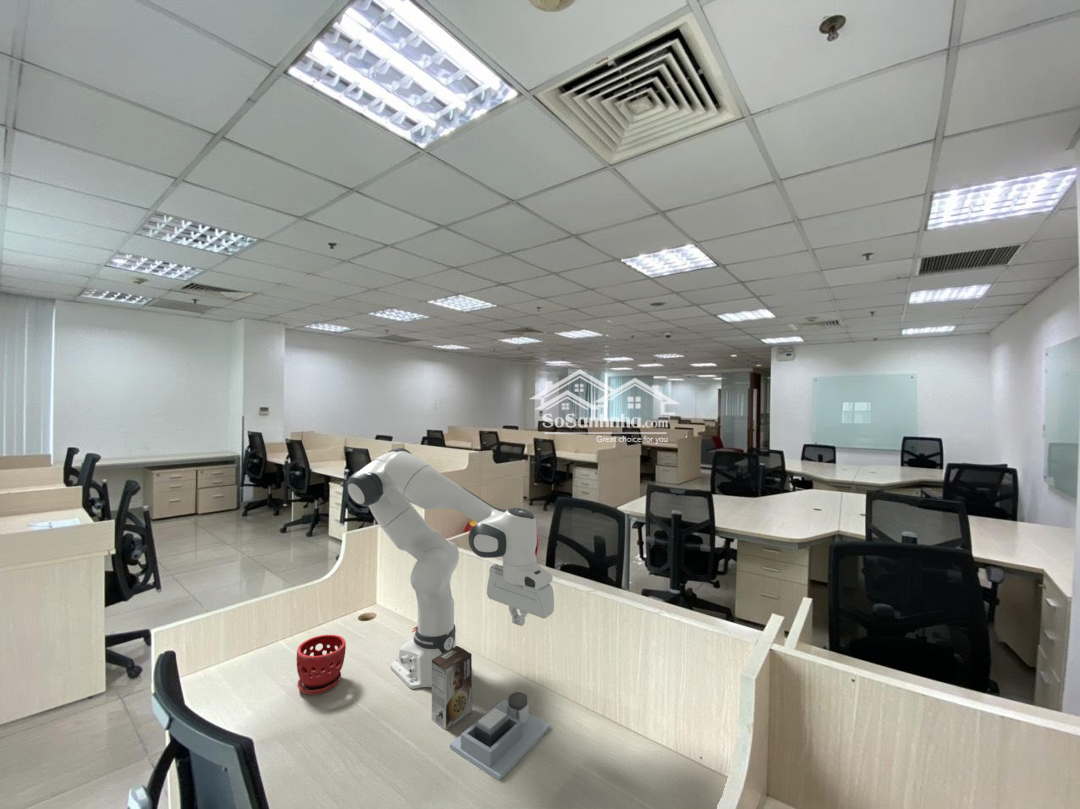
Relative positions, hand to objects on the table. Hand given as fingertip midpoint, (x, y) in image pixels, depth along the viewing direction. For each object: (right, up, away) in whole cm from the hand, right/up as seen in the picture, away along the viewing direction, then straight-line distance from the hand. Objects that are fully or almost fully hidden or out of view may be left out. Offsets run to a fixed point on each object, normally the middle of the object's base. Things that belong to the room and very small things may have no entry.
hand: (518, 623), depth 116 cm
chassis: (-4, -26, -5) cm, 27 cm away
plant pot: (-60, -26, +15) cm, 67 cm away
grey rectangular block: (-6, -25, -8) cm, 27 cm away
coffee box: (-18, -26, +3) cm, 32 cm away
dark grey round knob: (0, -24, 0) cm, 24 cm away
